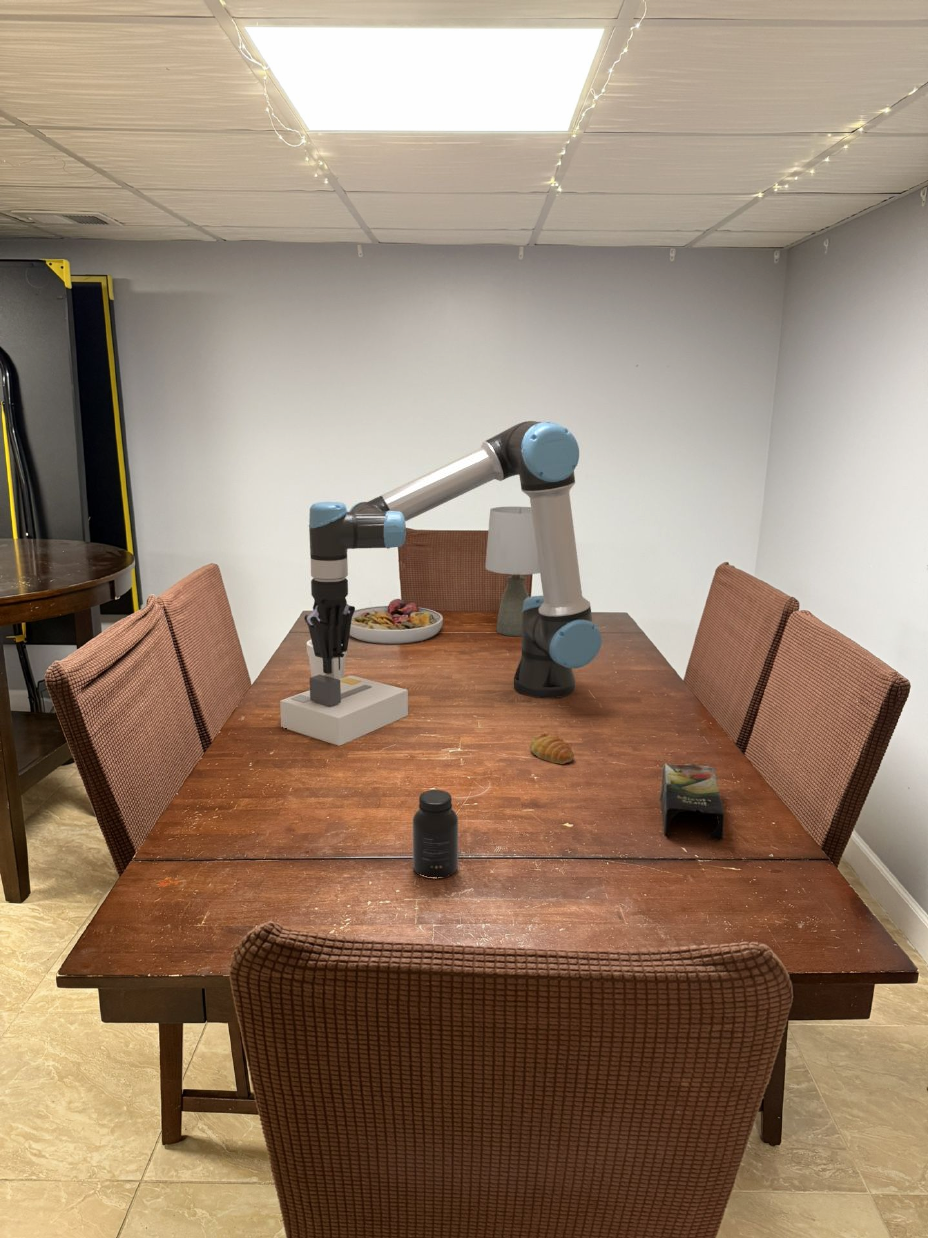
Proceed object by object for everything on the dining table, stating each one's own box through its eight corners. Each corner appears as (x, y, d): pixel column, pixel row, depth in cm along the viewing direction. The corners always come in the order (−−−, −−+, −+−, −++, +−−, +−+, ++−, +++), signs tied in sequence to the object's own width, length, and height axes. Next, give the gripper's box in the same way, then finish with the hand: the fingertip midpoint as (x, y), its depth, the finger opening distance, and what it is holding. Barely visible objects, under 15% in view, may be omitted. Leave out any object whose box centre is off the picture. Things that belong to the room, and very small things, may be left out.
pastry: (582, 761, 173) (583, 743, 172) (556, 769, 169) (557, 751, 168) (550, 746, 180) (551, 728, 180) (525, 753, 177) (525, 735, 176)
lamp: (487, 622, 276) (490, 505, 267) (546, 625, 274) (551, 506, 264) (480, 638, 258) (482, 513, 249) (543, 641, 256) (548, 515, 246)
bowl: (440, 648, 249) (441, 621, 247) (335, 646, 249) (334, 619, 247) (444, 621, 278) (444, 597, 276) (349, 620, 278) (349, 595, 276)
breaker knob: (340, 702, 185) (340, 679, 184) (330, 706, 183) (330, 683, 181) (320, 696, 188) (319, 674, 187) (310, 700, 186) (309, 677, 185)
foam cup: (340, 703, 203) (338, 649, 199) (302, 700, 204) (300, 646, 201) (353, 690, 212) (352, 638, 208) (317, 687, 213) (315, 635, 210)
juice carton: (658, 786, 162) (660, 756, 161) (712, 792, 161) (716, 761, 159) (661, 840, 143) (664, 806, 142) (723, 847, 142) (727, 812, 140)
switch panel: (407, 715, 196) (407, 689, 194) (339, 746, 178) (338, 717, 177) (351, 699, 205) (350, 674, 204) (281, 727, 188) (280, 699, 186)
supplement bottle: (412, 858, 136) (412, 786, 133) (456, 856, 136) (457, 785, 133) (413, 881, 129) (413, 807, 126) (459, 880, 130) (460, 806, 127)
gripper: (338, 570, 188) (340, 675, 194) (293, 580, 178) (297, 691, 184) (364, 575, 184) (365, 682, 190) (320, 585, 173) (323, 698, 179)
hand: (332, 686), depth 187 cm, fingers closed
